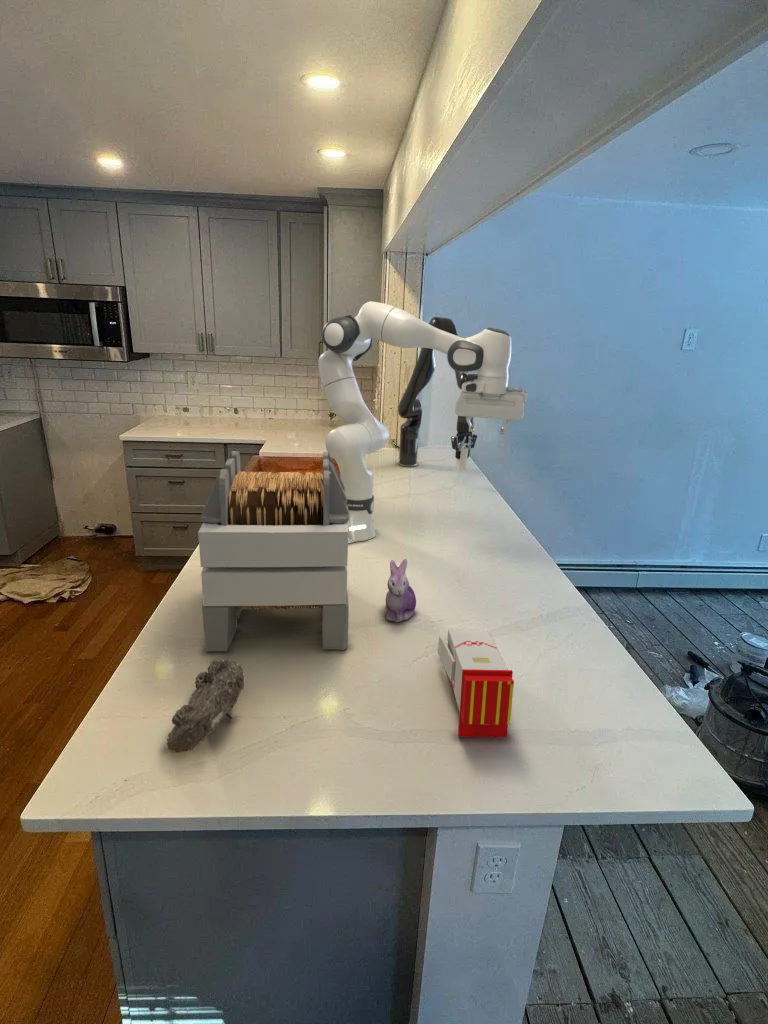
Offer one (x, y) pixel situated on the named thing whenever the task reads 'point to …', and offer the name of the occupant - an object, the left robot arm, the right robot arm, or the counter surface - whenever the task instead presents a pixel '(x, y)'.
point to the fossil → (206, 705)
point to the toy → (478, 682)
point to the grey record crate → (274, 549)
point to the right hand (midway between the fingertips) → (462, 457)
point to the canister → (462, 459)
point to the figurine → (399, 594)
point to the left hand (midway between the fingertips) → (486, 432)
